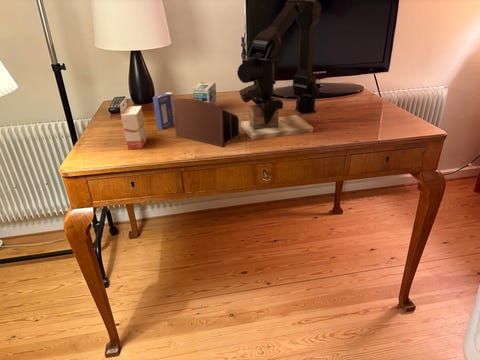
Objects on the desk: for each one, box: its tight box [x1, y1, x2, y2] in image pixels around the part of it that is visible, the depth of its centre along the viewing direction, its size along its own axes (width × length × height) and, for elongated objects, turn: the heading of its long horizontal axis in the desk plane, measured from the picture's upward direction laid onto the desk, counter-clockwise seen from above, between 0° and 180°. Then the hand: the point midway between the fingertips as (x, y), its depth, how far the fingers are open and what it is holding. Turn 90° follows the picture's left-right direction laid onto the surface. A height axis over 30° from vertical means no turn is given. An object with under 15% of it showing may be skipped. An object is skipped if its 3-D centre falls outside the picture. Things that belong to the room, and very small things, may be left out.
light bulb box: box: [192, 81, 218, 105], centre depth 139 cm, size 11×7×11 cm, turn 168°
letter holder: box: [173, 98, 240, 148], centre depth 115 cm, size 10×20×14 cm, turn 58°
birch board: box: [240, 114, 314, 140], centre depth 122 cm, size 22×14×2 cm, turn 106°
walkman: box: [152, 91, 175, 131], centre depth 125 cm, size 8×3×12 cm, turn 144°
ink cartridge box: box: [119, 97, 147, 150], centre depth 110 cm, size 9×5×15 cm, turn 5°
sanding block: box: [249, 104, 280, 129], centre depth 119 cm, size 9×4×7 cm, turn 106°
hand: (264, 122), depth 120 cm, fingers closed on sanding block, 4 cm apart
